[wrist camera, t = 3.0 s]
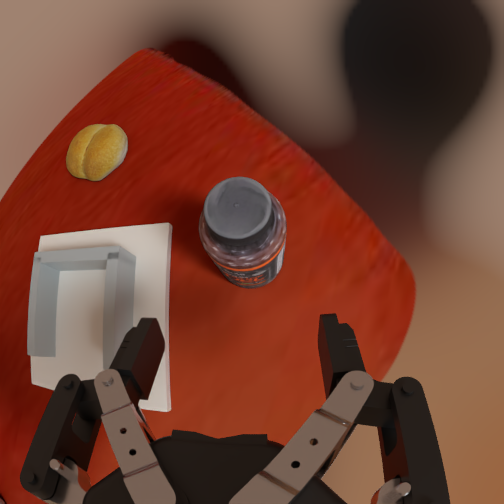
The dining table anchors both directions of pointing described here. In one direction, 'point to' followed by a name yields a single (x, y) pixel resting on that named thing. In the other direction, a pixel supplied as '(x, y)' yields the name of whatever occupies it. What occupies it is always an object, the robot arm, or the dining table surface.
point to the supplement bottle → (244, 231)
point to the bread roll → (96, 151)
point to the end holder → (98, 302)
